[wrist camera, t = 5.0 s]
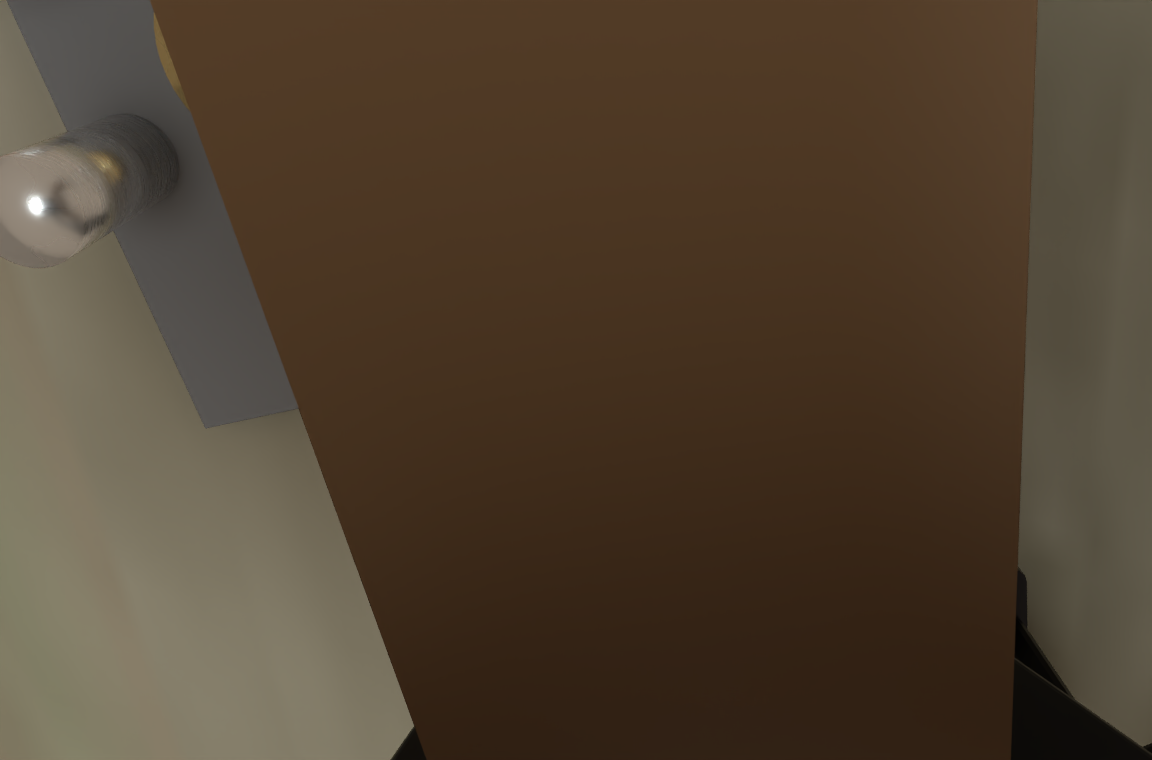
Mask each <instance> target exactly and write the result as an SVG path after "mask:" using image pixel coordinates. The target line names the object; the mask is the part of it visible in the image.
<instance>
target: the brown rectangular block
mask: <svg viewBox="0 0 1152 760" xmlns="http://www.w3.org/2000/svg"><path fill="white" fill-rule="evenodd" d="M150 2H151V5H152V8H153V10H154V13H155V16H156V19H157V21H158V24H159V27H160V30H161V32H162V35H163V38H164V41H165V43H166V46H167V49H168V52H169V54H170V57H171V60H172V62H173V65H174V68H175V71H176V73H177V76H178V79H179V82H180V84H181V87H182V90H183V93H184V95H185V98H186V101H187V104H188V106H189V109H190V112H191V115H192V117H193V120H194V123H195V126H196V128H197V131H198V134H199V137H200V139H201V142H202V145H203V148H204V150H205V153H206V156H207V158H208V161H209V164H210V167H211V169H212V172H213V175H214V178H215V180H216V183H217V186H218V189H219V191H220V194H221V197H222V200H223V202H224V205H225V208H226V211H227V213H228V216H229V219H230V222H231V224H232V227H233V230H234V233H235V235H236V238H237V241H238V244H239V246H240V249H241V252H242V254H243V257H244V260H245V263H246V265H247V268H248V271H249V274H250V276H251V279H252V282H253V285H254V287H255V290H256V293H257V296H258V298H259V301H260V304H261V307H262V309H263V312H264V315H265V318H266V320H267V323H268V326H269V329H270V331H271V334H272V337H273V340H274V342H275V345H276V348H277V350H278V353H279V356H280V359H281V361H282V364H283V367H284V370H285V372H286V375H287V378H288V381H289V383H290V386H291V389H292V392H293V394H294V397H295V400H296V403H297V405H298V408H299V411H300V414H301V416H302V419H303V422H304V425H305V427H306V430H307V433H308V436H309V438H310V441H311V444H312V446H313V449H314V452H315V455H316V457H317V460H318V463H319V466H320V468H321V471H322V474H323V477H324V479H325V482H326V485H327V488H328V490H329V493H330V496H331V499H332V501H333V504H334V507H335V510H336V512H337V515H338V518H339V521H340V523H341V526H342V529H343V532H344V534H345V537H346V540H347V542H348V545H349V548H350V551H351V553H352V556H353V559H354V562H355V564H356V567H357V570H358V573H359V575H360V578H361V581H362V584H363V586H364V589H365V592H366V595H367V597H368V600H369V603H370V606H371V608H372V611H373V614H374V617H375V619H376V622H377V625H378V628H379V630H380V633H381V636H382V638H383V641H384V644H385V647H386V649H387V652H388V655H389V658H390V660H391V663H392V666H393V669H394V671H395V674H396V677H397V680H398V682H399V685H400V688H401V691H402V693H403V696H404V699H405V702H406V704H407V707H408V710H409V713H410V715H411V718H412V721H413V724H414V726H415V729H416V732H417V734H418V737H419V740H420V743H421V745H422V748H423V751H424V754H425V756H426V759H427V760H1011V738H1012V710H1013V682H1014V654H1015V625H1016V597H1017V569H1018V541H1019V513H1020V484H1021V456H1022V428H1023V400H1024V371H1025V343H1026V315H1027V287H1028V258H1029V230H1030V202H1031V174H1032V145H1033V117H1034V89H1035V61H1036V33H1037V4H1038V0H150Z"/></svg>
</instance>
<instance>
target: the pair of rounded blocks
mask: <svg viewBox="0 0 1152 760" xmlns="http://www.w3.org/2000/svg"><path fill="white" fill-rule="evenodd" d="M178 175H179V161H178V157H177V153H176V151H175V148H174V146H173V144H172V143H171V141H170V139H169V138H168V137H167V136H166V134H165V133H164V132H163V131H162V130H161V129H160V128H159V127H157V126H156V125H155V124H153V123H152V122H150V121H149V120H147V119H145V118H142V117H140V116H136V115H132V114H115V115H111V116H108V117H105V118H102V119H100V120H97V121H94V122H92V123H89V124H86V125H84V126H81V127H78V128H75V129H73V130H70V131H67V132H65V133H62V134H59V135H57V136H54V137H51V138H49V139H46V140H43V141H41V142H38V143H35V144H33V145H30V146H27V147H25V148H22V149H19V150H17V151H14V152H11V153H9V154H6V155H3V156H0V256H1V257H3V258H5V259H6V260H8V261H11V262H13V263H15V264H18V265H21V266H26V267H32V268H46V267H52V266H55V265H58V264H60V263H62V262H64V261H66V260H67V259H69V258H70V257H72V256H74V255H75V254H77V253H78V252H80V251H82V250H83V249H85V248H86V247H88V246H89V245H91V244H93V243H94V242H96V241H97V240H99V239H101V238H102V237H104V236H105V235H107V234H108V233H110V232H112V231H113V230H115V229H116V228H118V227H120V226H121V225H123V224H124V223H126V222H127V221H129V220H131V219H132V218H134V217H135V216H137V215H139V214H140V213H142V212H143V211H145V210H146V209H148V208H150V207H151V206H153V205H154V204H156V203H158V202H159V201H161V200H162V199H164V198H165V197H167V196H168V195H169V194H170V193H171V191H172V190H173V189H174V187H175V185H176V183H177V180H178Z"/></svg>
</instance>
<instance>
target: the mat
mask: <svg viewBox="0 0 1152 760" xmlns="http://www.w3.org/2000/svg"><path fill="white" fill-rule="evenodd" d="M7 2H8V5H9V7H10V9H11V11H12V13H13V15H14V18H15V20H16V22H17V24H18V26H19V28H20V30H21V33H22V35H23V37H24V39H25V41H26V43H27V46H28V48H29V50H30V52H31V54H32V56H33V58H34V61H35V63H36V65H37V67H38V69H39V71H40V73H41V76H42V78H43V80H44V82H45V84H46V86H47V89H48V91H49V93H50V95H51V97H52V99H53V101H54V104H55V106H56V108H57V110H58V112H59V114H60V117H61V119H62V121H63V123H64V125H65V127H66V129H67V131H70V130H73V129H75V128H78V127H81V126H84V125H86V124H89V123H92V122H94V121H97V120H100V119H102V118H105V117H108V116H111V115H115V114H132V115H136V116H140V117H142V118H145V119H147V120H149V121H150V122H152V123H153V124H155V125H156V126H157V127H159V128H160V129H161V130H162V131H163V132H164V133H165V134H166V136H167V137H168V138H169V139H170V141H171V143H172V144H173V146H174V148H175V151H176V153H177V157H178V161H179V175H178V180H177V183H176V185H175V187H174V189H173V190H172V191H171V193H170V194H169V195H168V196H167V197H165V198H164V199H162V200H161V201H159V202H158V203H156V204H154V205H153V206H151V207H150V208H148V209H146V210H145V211H143V212H142V213H140V214H139V215H137V216H135V217H134V218H132V219H131V220H129V221H127V222H126V223H124V224H123V225H121V226H120V227H118V228H116V229H115V230H113V231H114V233H115V235H116V237H117V239H118V241H119V243H120V246H121V248H122V250H123V252H124V254H125V256H126V259H127V261H128V263H129V265H130V267H131V269H132V271H133V274H134V276H135V278H136V280H137V282H138V284H139V286H140V289H141V291H142V293H143V295H144V297H145V299H146V302H147V304H148V306H149V308H150V310H151V312H152V314H153V317H154V319H155V321H156V323H157V325H158V327H159V330H160V332H161V334H162V336H163V338H164V340H165V342H166V345H167V347H168V349H169V351H170V353H171V355H172V357H173V360H174V362H175V364H176V366H177V368H178V370H179V373H180V375H181V377H182V379H183V381H184V383H185V385H186V388H187V390H188V392H189V394H190V396H191V398H192V401H193V403H194V405H195V407H196V409H197V411H198V413H199V416H200V418H201V420H202V422H203V424H204V426H205V428H210V427H215V426H219V425H224V424H228V423H233V422H238V421H242V420H247V419H252V418H256V417H261V416H266V415H270V414H275V413H280V412H284V411H289V410H294V409H298V405H297V403H296V400H295V397H294V394H293V392H292V389H291V386H290V383H289V381H288V378H287V375H286V372H285V370H284V367H283V364H282V361H281V359H280V356H279V353H278V350H277V348H276V345H275V342H274V340H273V337H272V334H271V331H270V329H269V326H268V323H267V320H266V318H265V315H264V312H263V309H262V307H261V304H260V301H259V298H258V296H257V293H256V290H255V287H254V285H253V282H252V279H251V276H250V274H249V271H248V268H247V265H246V263H245V260H244V257H243V254H242V252H241V249H240V246H239V244H238V241H237V238H236V235H235V233H234V230H233V227H232V224H231V222H230V219H229V216H228V213H227V211H226V208H225V205H224V202H223V200H222V197H221V194H220V191H219V189H218V186H217V183H216V180H215V178H214V175H213V172H212V169H211V167H210V164H209V161H208V158H207V156H206V153H205V150H204V148H203V145H202V142H201V139H200V137H199V134H198V131H197V128H196V126H195V123H194V120H193V117H192V115H191V112H190V111H189V110H188V109H187V108H186V106H185V105H184V104H183V103H182V101H181V100H180V98H179V97H178V95H177V94H176V92H175V91H174V89H173V87H172V85H171V83H170V81H169V80H168V78H167V76H166V73H165V71H164V68H163V66H162V63H161V61H160V57H159V53H158V49H157V46H156V40H155V33H154V10H153V8H152V5H151V2H150V0H7Z"/></svg>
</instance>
